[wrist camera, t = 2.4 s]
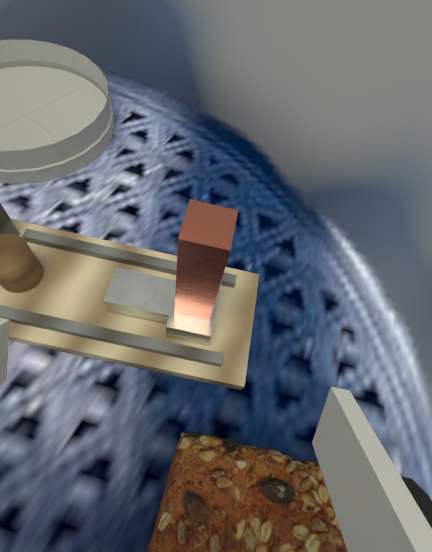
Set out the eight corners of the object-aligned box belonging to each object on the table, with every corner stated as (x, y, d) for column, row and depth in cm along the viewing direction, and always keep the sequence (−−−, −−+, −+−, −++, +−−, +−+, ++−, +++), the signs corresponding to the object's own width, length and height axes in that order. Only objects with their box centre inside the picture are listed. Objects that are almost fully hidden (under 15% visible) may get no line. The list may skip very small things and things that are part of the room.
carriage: (102, 322, 32) (63, 233, 19) (123, 268, 35) (99, 162, 22) (207, 345, 32) (233, 271, 20) (219, 289, 35) (247, 195, 23)
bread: (134, 584, 25) (117, 651, 16) (180, 429, 30) (186, 415, 21) (383, 664, 24) (505, 776, 15) (385, 493, 29) (476, 505, 21)
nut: (-1, 261, 33) (-22, 238, 30) (42, 253, 34) (27, 230, 31) (-1, 297, 32) (-23, 276, 28) (45, 287, 33) (29, 267, 29)
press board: (-76, 322, 31) (-139, 284, 25) (-10, 221, 37) (-47, 170, 31) (241, 390, 32) (260, 371, 25) (256, 280, 38) (274, 243, 31)
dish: (148, 128, 48) (146, 95, 44) (10, 216, 38) (-10, 185, 34) (44, 57, 53) (33, 21, 49) (-102, 119, 43) (-133, 81, 39)
